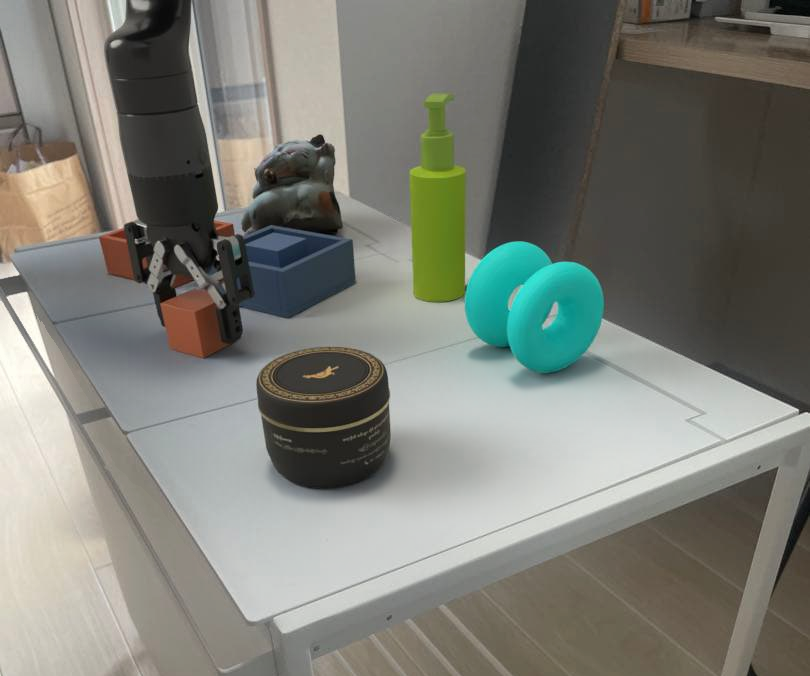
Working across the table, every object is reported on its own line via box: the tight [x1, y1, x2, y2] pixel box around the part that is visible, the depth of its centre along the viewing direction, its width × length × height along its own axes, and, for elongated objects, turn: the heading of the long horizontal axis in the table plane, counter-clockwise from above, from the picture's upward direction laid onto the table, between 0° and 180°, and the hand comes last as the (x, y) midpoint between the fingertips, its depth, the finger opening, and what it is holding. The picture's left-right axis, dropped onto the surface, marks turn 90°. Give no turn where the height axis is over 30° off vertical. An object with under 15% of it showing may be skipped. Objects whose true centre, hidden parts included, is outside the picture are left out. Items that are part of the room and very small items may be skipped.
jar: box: [255, 346, 392, 489], centre depth 65 cm, size 10×10×8 cm
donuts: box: [464, 240, 605, 374], centre depth 78 cm, size 10×10×10 cm
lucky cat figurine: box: [240, 133, 344, 237], centre depth 112 cm, size 15×12×14 cm
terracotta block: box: [160, 287, 237, 359], centre depth 85 cm, size 5×5×5 cm
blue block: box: [245, 233, 308, 268], centre depth 96 cm, size 5×5×5 cm
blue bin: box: [205, 225, 357, 319], centre depth 97 cm, size 12×12×5 cm
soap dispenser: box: [409, 93, 467, 303], centre depth 90 cm, size 6×7×20 cm
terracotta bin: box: [98, 219, 236, 288], centre depth 105 cm, size 12×12×5 cm
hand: (201, 333), depth 85 cm, fingers open, 8 cm apart
